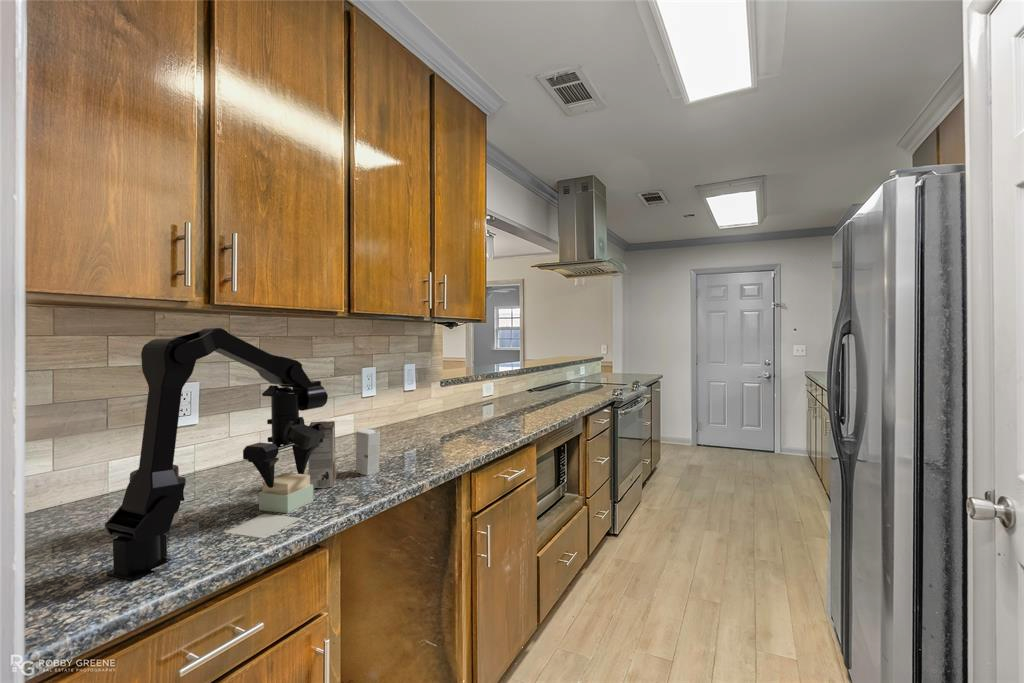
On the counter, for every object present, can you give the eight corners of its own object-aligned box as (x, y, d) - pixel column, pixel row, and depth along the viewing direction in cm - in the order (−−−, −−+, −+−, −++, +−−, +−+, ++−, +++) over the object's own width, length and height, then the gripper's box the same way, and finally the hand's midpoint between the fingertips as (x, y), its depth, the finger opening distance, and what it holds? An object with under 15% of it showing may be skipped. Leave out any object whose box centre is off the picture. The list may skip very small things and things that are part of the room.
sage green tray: (287, 516, 102) (287, 495, 102) (259, 512, 104) (258, 492, 104) (313, 503, 109) (313, 484, 109) (286, 500, 112) (285, 481, 112)
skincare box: (355, 472, 134) (354, 431, 134) (368, 468, 138) (367, 428, 137) (367, 476, 130) (367, 433, 130) (381, 472, 134) (380, 430, 134)
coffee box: (311, 479, 128) (310, 421, 127) (336, 477, 130) (335, 420, 129) (307, 490, 119) (306, 428, 119) (334, 487, 121) (333, 426, 121)
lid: (287, 494, 102) (287, 484, 102) (262, 492, 104) (262, 481, 104) (310, 485, 109) (309, 474, 109) (285, 482, 111) (285, 472, 111)
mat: (264, 541, 89) (264, 538, 89) (224, 535, 92) (224, 532, 92) (301, 521, 99) (301, 518, 99) (264, 516, 102) (264, 513, 102)
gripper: (282, 423, 95) (283, 498, 95) (340, 409, 113) (341, 472, 113) (240, 420, 98) (241, 493, 99) (303, 407, 116) (304, 469, 116)
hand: (286, 481), depth 107 cm, fingers open, 9 cm apart
